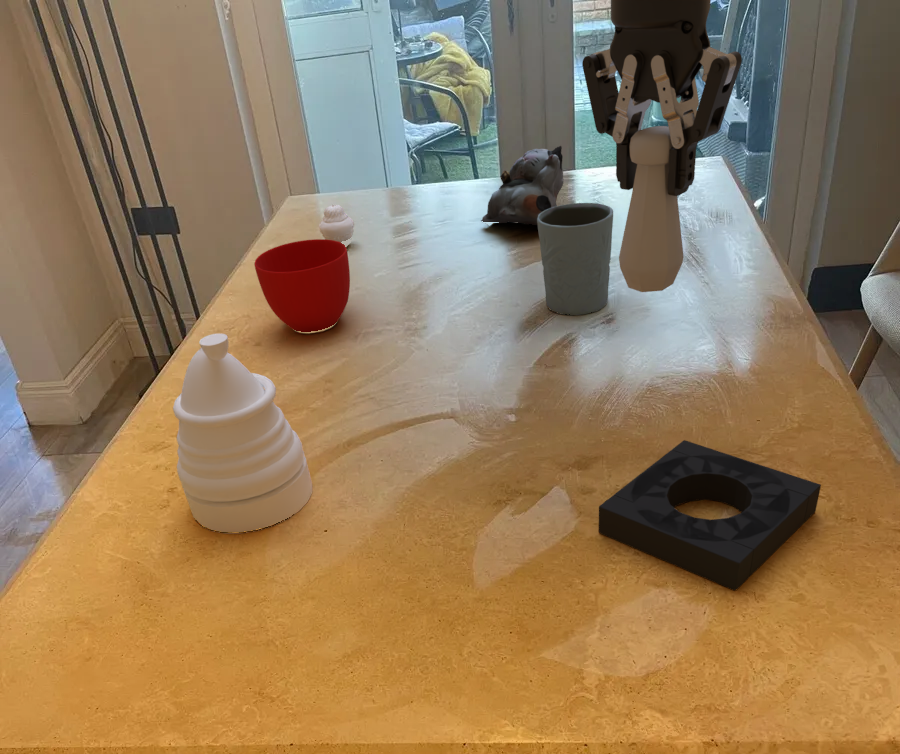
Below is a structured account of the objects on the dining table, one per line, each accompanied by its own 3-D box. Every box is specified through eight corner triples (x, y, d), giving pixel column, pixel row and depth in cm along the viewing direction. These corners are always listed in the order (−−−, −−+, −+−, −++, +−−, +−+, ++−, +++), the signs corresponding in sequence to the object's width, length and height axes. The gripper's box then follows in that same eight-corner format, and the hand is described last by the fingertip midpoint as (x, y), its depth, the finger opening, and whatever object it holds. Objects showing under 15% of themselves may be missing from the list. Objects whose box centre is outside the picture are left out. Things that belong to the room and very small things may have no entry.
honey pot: (337, 490, 89) (298, 324, 77) (235, 549, 83) (176, 379, 71) (267, 452, 96) (223, 297, 85) (169, 504, 90) (107, 344, 79)
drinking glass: (573, 323, 114) (572, 231, 107) (525, 304, 121) (520, 216, 113) (627, 300, 118) (630, 209, 111) (577, 283, 125) (577, 196, 117)
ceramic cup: (387, 299, 128) (376, 231, 122) (330, 347, 117) (315, 275, 110) (315, 294, 133) (301, 228, 126) (254, 339, 122) (235, 269, 115)
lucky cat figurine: (472, 223, 151) (490, 138, 147) (534, 240, 155) (553, 157, 151) (499, 218, 138) (519, 124, 133) (565, 237, 141) (587, 146, 137)
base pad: (682, 465, 85) (684, 439, 84) (815, 512, 77) (821, 484, 75) (598, 532, 78) (598, 506, 77) (735, 591, 70) (739, 563, 68)
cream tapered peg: (613, 295, 78) (614, 139, 70) (623, 272, 82) (625, 122, 74) (678, 295, 76) (687, 136, 68) (685, 272, 80) (695, 118, 72)
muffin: (326, 242, 152) (318, 201, 148) (359, 238, 152) (352, 197, 147) (320, 254, 148) (312, 211, 143) (355, 250, 147) (347, 208, 142)
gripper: (777, -69, 61) (750, 186, 72) (614, -57, 69) (613, 170, 80) (720, -54, 57) (701, 213, 68) (555, -43, 65) (562, 193, 76)
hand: (653, 189), depth 74 cm, fingers closed on cream tapered peg, 4 cm apart
